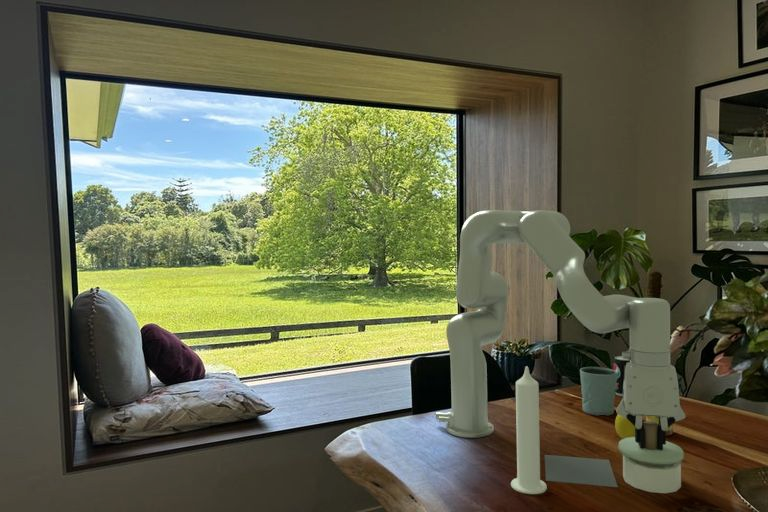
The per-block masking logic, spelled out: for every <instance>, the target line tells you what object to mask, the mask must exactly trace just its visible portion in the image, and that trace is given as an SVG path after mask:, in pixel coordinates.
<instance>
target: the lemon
mask: <svg viewBox="0 0 768 512" xmlns="http://www.w3.org/2000/svg"><path fill="white" fill-rule="evenodd" d="M632 415H633V414H632ZM614 426H615V427H614V428H615V432H616V434H617V435H618V437H620V438H621V439H624V438H629V437H635V426H634V425H633V424H632V423H631V422H630V421H629V420H628V419H626V418H624V417H622V416H620V415H619V414H617V415H616V417H615V421H614Z"/></svg>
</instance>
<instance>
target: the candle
mask: <svg viewBox="0 0 768 512" xmlns="http://www.w3.org/2000/svg"><path fill="white" fill-rule="evenodd" d="M539 391H540V390H539V382H538V381H537V380H536V379H534V377H532V376H531V374H530V368H529V367H528V365H527V366H525V367H524V373H523V375H522V376H521V377H520V378H519V379H517V380H516V381H515V416H516V417H515V419H516V423H515V424H516V469H517V470H516V471H517V472H516V478H513V479H512V480H511V482H510V486H511V488H512V489H513V490H515V491H517V492H519V493H523V494H528V495H539V494H542V493H545V492H546V491H547V489H548V488H547V487H548V486H547V484H546V483H545V482H546V481H545V482H544V481H543V480H542V479H541V458H540V455H541V453H540V397H539V395H540V392H539Z"/></svg>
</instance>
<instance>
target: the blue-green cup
mask: <svg viewBox="0 0 768 512" xmlns="http://www.w3.org/2000/svg"><path fill="white" fill-rule="evenodd" d="M579 376H580V385H581V396H582V399H581V403H582V404H581V405H582V411H583V412H584V413H585V414H589V415H592V416H599V415H606V416H610V415H613V414H614V413H615V399H616V393H615V388H616V381H617V372H616V371H615V370H614V369H611V368H608V367H607V368H606V367H602V366H601V367H600V366H599V367H598V366H586V367H582V368H579Z"/></svg>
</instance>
